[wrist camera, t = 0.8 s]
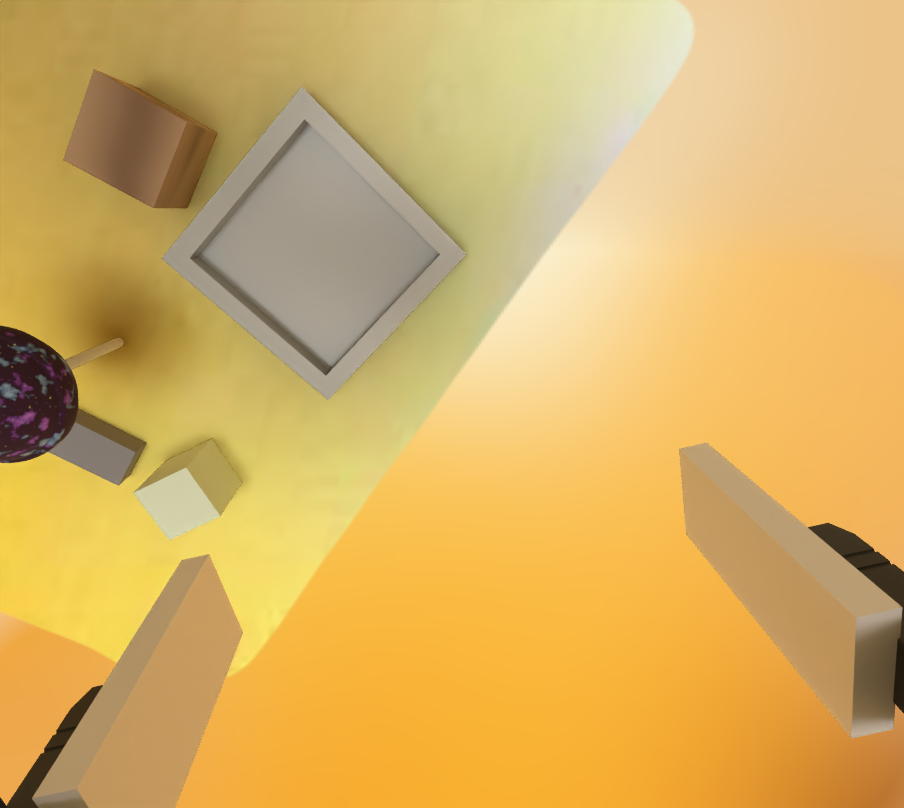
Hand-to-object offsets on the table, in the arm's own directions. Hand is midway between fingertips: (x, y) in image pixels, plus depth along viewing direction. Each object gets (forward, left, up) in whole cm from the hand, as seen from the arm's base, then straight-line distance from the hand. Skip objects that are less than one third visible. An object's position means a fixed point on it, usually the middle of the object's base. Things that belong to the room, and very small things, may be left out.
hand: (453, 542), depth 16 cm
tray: (-9, -1, -26) cm, 28 cm away
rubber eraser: (-12, -22, -26) cm, 36 cm away
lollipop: (-15, -15, -26) cm, 34 cm away
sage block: (-5, -19, -26) cm, 33 cm away
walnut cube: (-20, -3, -26) cm, 33 cm away
